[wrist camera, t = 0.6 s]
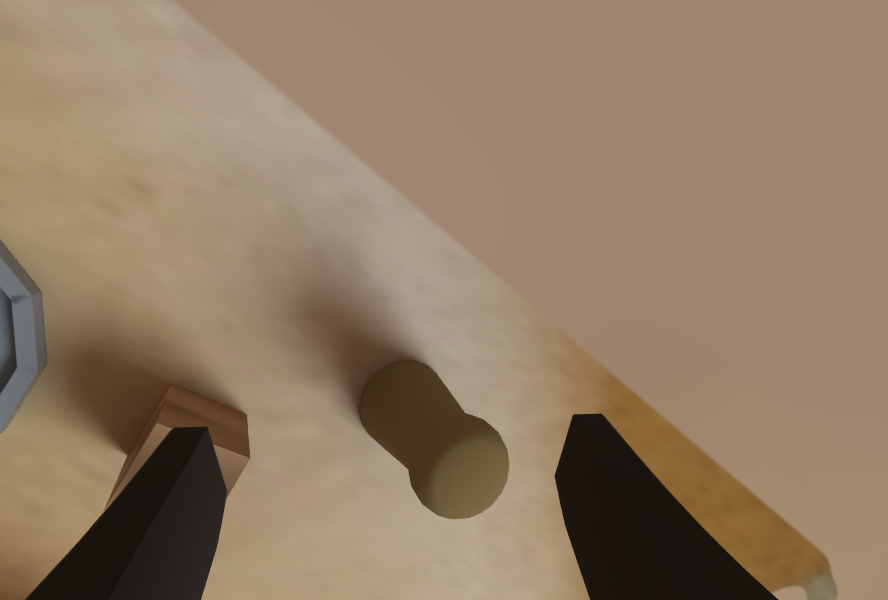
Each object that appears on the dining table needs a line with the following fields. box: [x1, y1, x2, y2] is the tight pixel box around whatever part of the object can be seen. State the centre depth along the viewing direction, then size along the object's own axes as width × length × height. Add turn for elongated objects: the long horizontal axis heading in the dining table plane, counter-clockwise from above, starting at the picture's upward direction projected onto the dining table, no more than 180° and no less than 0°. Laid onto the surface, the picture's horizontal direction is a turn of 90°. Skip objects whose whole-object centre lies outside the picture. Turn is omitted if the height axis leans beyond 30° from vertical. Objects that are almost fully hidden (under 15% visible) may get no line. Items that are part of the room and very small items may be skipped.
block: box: [104, 384, 250, 511], centre depth 27 cm, size 5×5×6 cm
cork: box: [359, 361, 509, 519], centre depth 30 cm, size 6×6×11 cm
